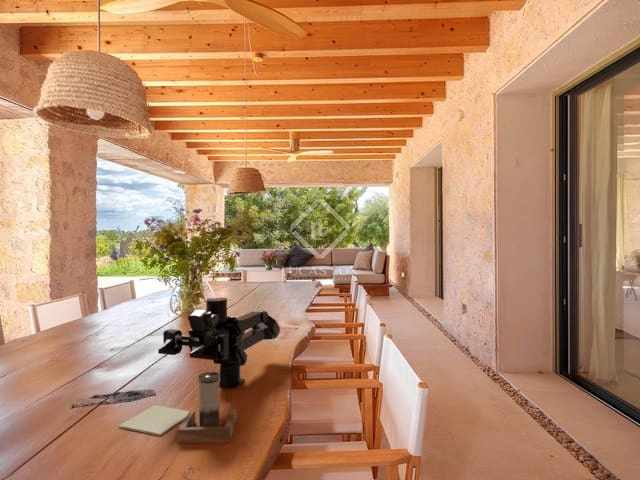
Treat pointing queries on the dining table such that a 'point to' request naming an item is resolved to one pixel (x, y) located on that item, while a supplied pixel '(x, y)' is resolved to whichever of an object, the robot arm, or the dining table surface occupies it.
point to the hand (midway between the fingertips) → (174, 353)
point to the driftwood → (121, 396)
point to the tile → (155, 420)
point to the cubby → (206, 430)
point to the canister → (209, 399)
